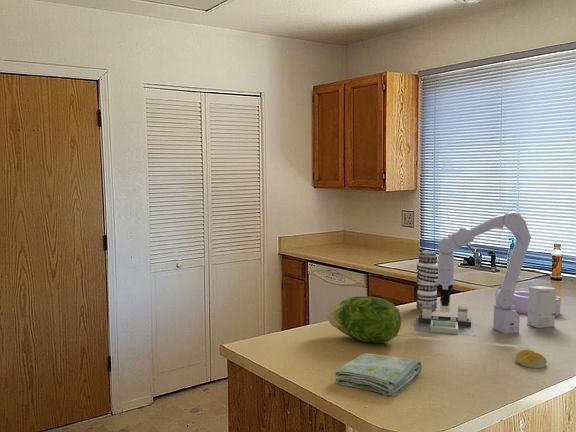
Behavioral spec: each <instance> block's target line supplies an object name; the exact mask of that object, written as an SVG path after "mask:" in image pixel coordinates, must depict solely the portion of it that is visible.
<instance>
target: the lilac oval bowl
mask: <svg viewBox="0 0 576 432" xmlns="http://www.w3.org/2000/svg"><path fill="white" fill-rule="evenodd" d="M528 296H529V291H524V290H521V291H516V290H515V292H514V304H513V305H515V311H516V312H517V313H522V314H527V315H528ZM560 314H561V296H558V295H556V306H555V317H556V316H558V317H559V315H560Z"/></svg>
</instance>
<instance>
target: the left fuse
mask: <svg viewBox="0 0 576 432" xmlns="http://www.w3.org/2000/svg"><path fill="white" fill-rule="evenodd" d="M421 311H422V314H421V315H422V318H429V319H432V316H433V315H432V313H433V311H432V305H425V304H423V308H422V310H421Z"/></svg>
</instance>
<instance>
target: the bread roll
mask: <svg viewBox="0 0 576 432" xmlns="http://www.w3.org/2000/svg"><path fill="white" fill-rule="evenodd" d="M514 359H515V360H514V361H515V362H516V364H518V365H521V366H523V367H525V368H530V369H543V368H545V367H546V365H547V363H548V361H547V358H546V357H545V356H544V355H542V354H541V353H539V352H536V351H534V350H531V349H523V350H519V351H518V352H517V353H516V354H515V357H514Z"/></svg>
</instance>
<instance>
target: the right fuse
mask: <svg viewBox="0 0 576 432" xmlns="http://www.w3.org/2000/svg"><path fill="white" fill-rule="evenodd" d="M457 317H458V321H467V318H468V307H466V306H457Z"/></svg>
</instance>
